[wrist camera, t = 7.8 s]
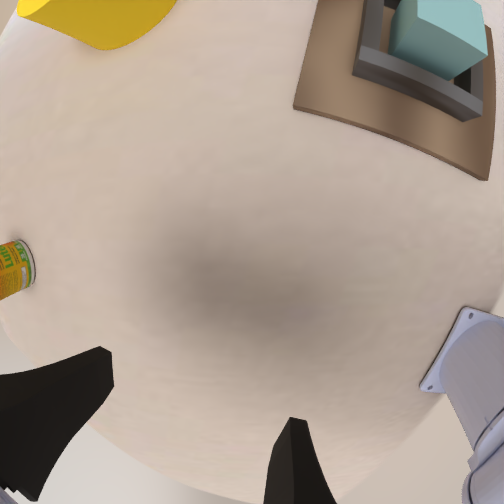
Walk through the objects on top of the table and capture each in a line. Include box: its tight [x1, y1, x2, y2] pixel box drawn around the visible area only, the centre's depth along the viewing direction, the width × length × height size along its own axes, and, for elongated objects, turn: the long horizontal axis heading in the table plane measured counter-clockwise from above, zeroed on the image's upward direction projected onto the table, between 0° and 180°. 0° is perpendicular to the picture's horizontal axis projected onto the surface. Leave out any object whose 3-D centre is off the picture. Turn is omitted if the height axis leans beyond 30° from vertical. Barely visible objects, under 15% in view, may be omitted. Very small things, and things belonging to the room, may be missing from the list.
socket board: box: [293, 0, 496, 181], centre depth 11 cm, size 14×14×4 cm
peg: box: [388, 0, 488, 81], centre depth 9 cm, size 4×4×6 cm
